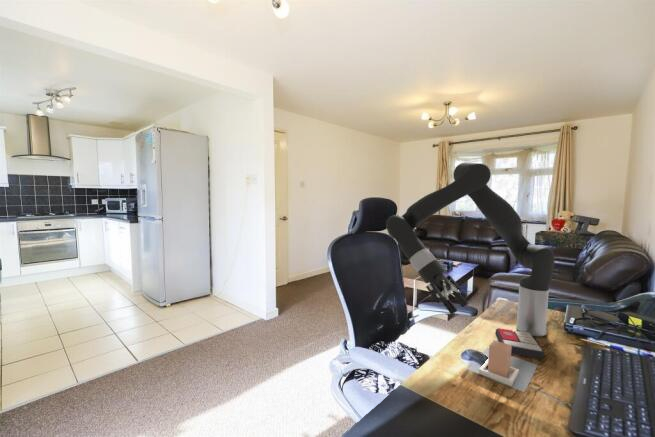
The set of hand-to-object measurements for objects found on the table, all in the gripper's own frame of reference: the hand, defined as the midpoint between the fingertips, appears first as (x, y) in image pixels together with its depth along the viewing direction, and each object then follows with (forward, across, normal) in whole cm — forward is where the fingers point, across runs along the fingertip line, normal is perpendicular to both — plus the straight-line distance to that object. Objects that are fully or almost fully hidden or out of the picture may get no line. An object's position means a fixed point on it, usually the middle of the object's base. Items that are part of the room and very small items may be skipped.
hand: (460, 309), depth 91 cm
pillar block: (+19, 0, +3) cm, 19 cm away
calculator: (+20, +24, +4) cm, 31 cm away
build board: (+20, +4, +4) cm, 21 cm away
